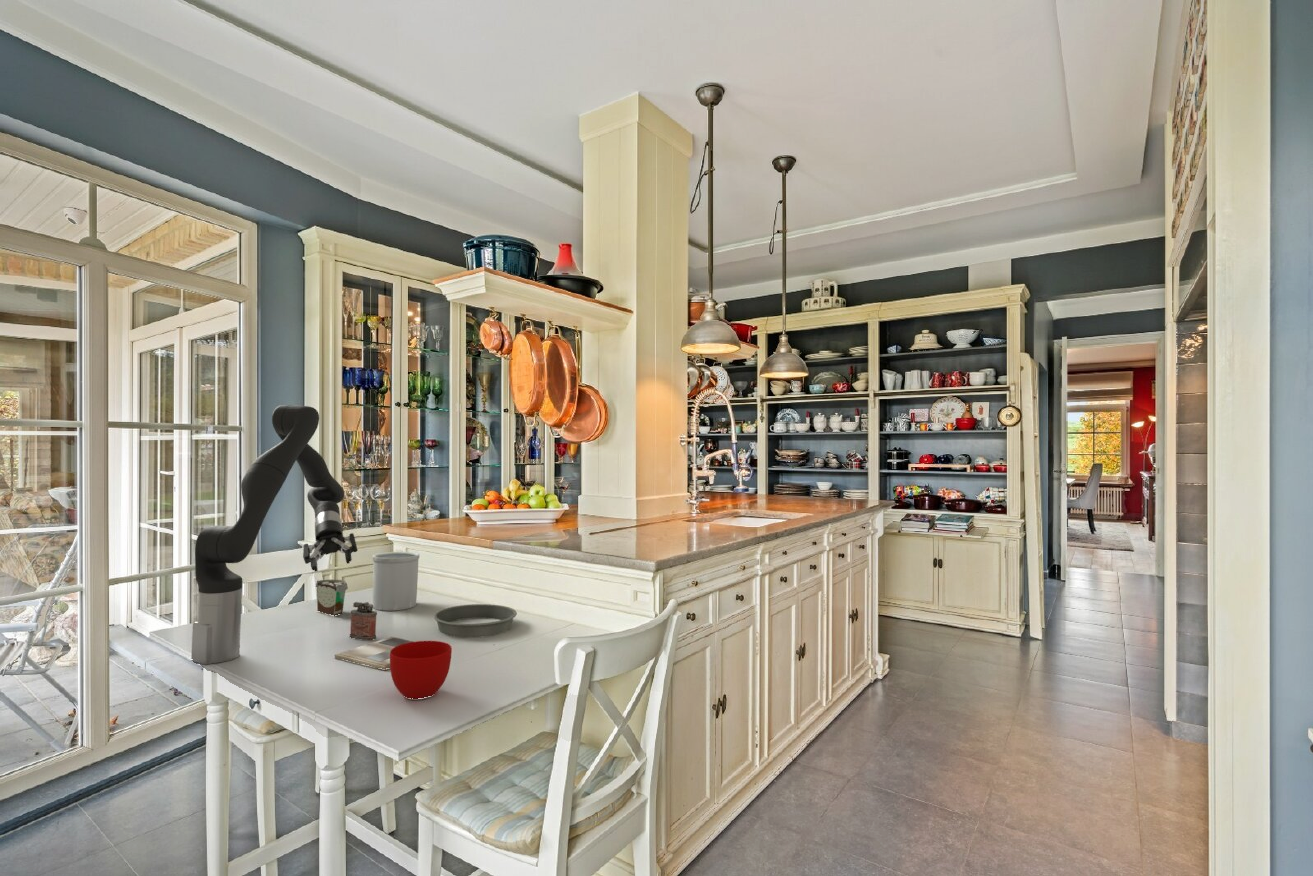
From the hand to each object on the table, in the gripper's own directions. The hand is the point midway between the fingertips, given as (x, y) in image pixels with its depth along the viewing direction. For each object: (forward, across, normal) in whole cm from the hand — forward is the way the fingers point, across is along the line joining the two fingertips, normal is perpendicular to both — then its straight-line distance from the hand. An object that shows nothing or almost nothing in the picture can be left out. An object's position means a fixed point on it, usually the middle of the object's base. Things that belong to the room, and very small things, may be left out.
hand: (331, 565), depth 186 cm
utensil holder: (-9, +13, +34) cm, 38 cm away
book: (+34, +11, +3) cm, 36 cm away
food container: (-8, -4, +29) cm, 30 cm away
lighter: (+19, +4, +12) cm, 23 cm away
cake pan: (+22, +35, +20) cm, 46 cm away
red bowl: (+59, +17, -12) cm, 62 cm away
